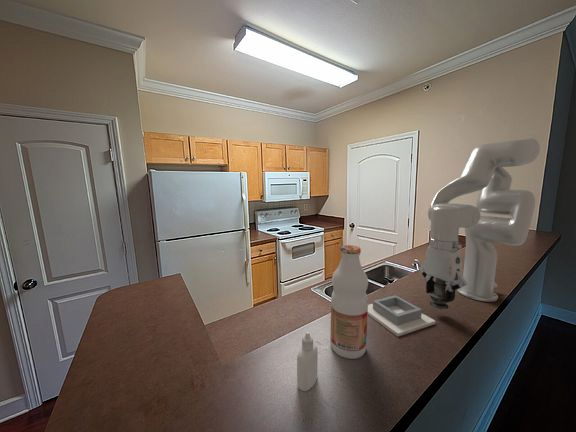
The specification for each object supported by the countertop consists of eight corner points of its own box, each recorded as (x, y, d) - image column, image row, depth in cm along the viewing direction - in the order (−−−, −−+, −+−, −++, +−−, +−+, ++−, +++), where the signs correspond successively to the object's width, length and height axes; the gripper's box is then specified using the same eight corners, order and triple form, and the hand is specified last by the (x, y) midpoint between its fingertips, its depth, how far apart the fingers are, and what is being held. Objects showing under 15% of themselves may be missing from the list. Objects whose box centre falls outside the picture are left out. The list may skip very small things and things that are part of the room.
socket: (394, 300, 87) (395, 290, 86) (435, 323, 72) (436, 312, 71) (360, 309, 81) (361, 298, 80) (397, 336, 66) (398, 323, 65)
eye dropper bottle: (292, 378, 52) (291, 330, 50) (313, 370, 54) (313, 323, 52) (300, 394, 48) (300, 342, 46) (323, 384, 50) (324, 334, 49)
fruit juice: (324, 339, 65) (325, 244, 61) (353, 333, 68) (356, 241, 64) (340, 363, 56) (343, 254, 52) (373, 355, 59) (378, 250, 55)
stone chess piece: (453, 310, 73) (456, 275, 71) (432, 308, 74) (435, 274, 72) (444, 301, 79) (447, 268, 77) (425, 299, 80) (428, 267, 78)
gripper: (481, 249, 67) (475, 306, 69) (426, 237, 83) (423, 284, 85) (464, 253, 64) (459, 312, 67) (411, 239, 80) (408, 288, 82)
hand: (439, 296), depth 76 cm, fingers closed on stone chess piece, 5 cm apart
